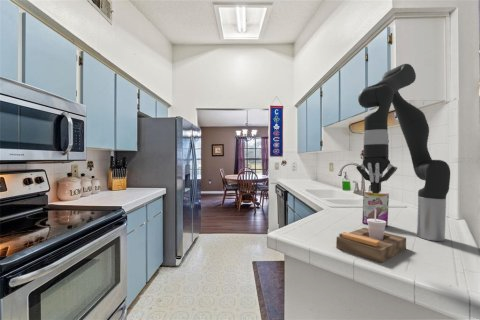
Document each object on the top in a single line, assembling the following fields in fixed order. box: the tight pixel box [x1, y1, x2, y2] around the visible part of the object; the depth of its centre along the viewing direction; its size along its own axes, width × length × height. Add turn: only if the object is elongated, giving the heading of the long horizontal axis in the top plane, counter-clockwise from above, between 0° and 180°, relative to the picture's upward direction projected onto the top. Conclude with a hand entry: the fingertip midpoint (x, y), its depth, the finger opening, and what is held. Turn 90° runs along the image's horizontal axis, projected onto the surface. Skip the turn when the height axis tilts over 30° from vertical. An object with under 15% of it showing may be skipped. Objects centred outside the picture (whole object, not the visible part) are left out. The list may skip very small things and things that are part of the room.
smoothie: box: [367, 209, 386, 241], centre depth 87 cm, size 6×6×14 cm
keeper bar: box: [338, 232, 380, 246], centre depth 81 cm, size 3×13×1 cm, turn 37°
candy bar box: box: [361, 190, 390, 228], centre depth 118 cm, size 11×5×16 cm, turn 58°
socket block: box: [335, 227, 407, 264], centre depth 85 cm, size 22×15×4 cm
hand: (375, 193), depth 81 cm, fingers closed
